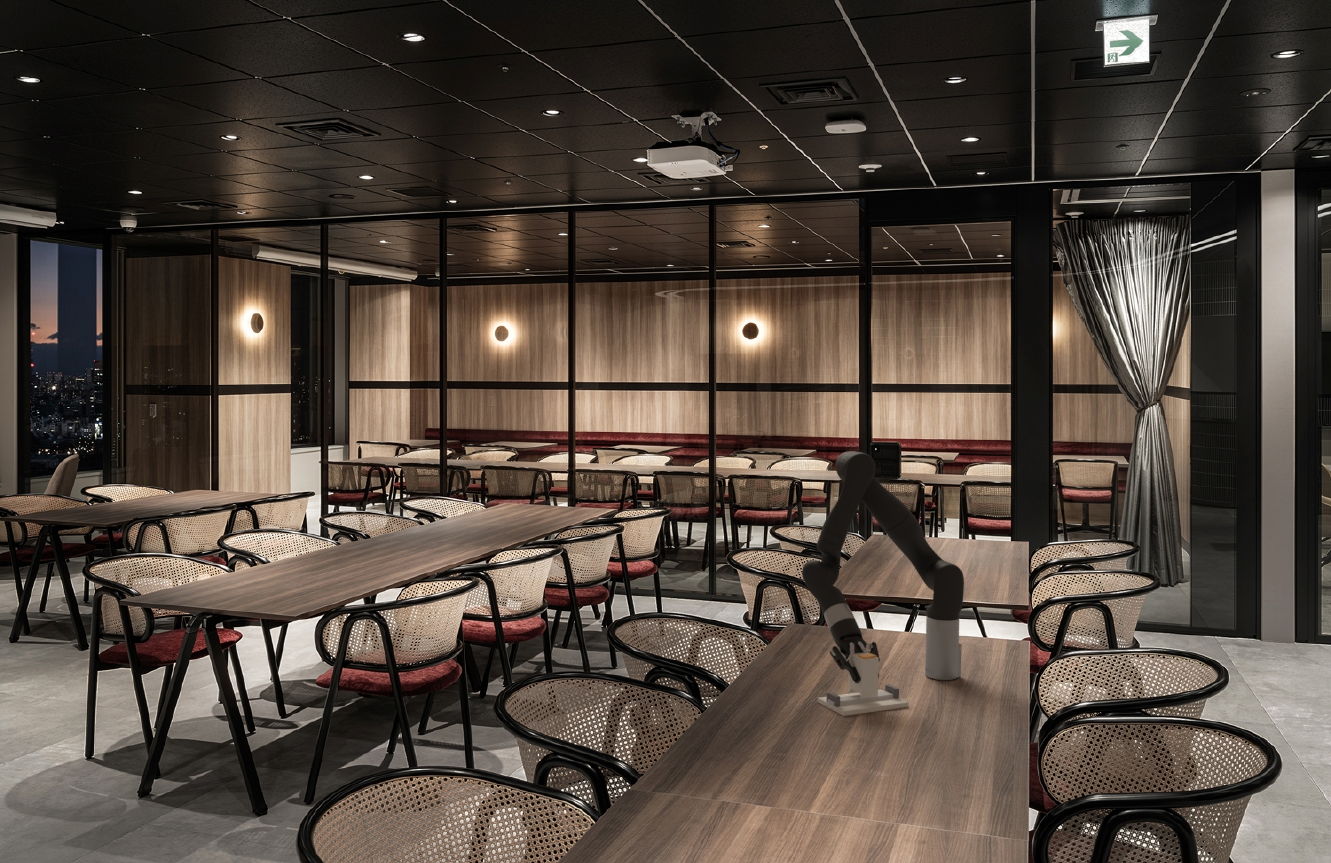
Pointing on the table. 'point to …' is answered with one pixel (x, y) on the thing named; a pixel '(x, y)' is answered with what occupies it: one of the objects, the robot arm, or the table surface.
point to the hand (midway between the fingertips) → (867, 680)
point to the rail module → (865, 675)
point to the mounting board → (864, 702)
